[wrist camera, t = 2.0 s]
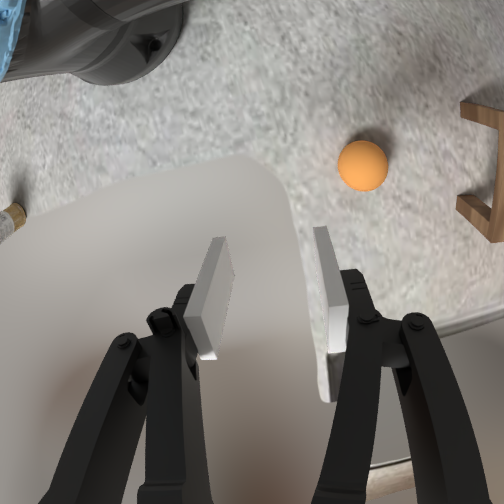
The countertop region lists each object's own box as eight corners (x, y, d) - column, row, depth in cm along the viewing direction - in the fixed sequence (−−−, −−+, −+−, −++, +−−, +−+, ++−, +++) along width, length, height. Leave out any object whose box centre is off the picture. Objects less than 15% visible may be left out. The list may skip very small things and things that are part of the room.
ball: (331, 137, 31) (341, 147, 26) (378, 135, 30) (395, 145, 25) (335, 183, 34) (344, 201, 29) (379, 180, 33) (395, 197, 28)
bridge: (455, 209, 33) (491, 243, 26) (460, 102, 26) (505, 113, 18) (471, 208, 33) (508, 241, 25) (477, 104, 26) (523, 116, 18)
